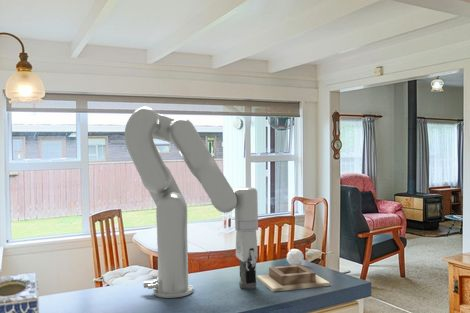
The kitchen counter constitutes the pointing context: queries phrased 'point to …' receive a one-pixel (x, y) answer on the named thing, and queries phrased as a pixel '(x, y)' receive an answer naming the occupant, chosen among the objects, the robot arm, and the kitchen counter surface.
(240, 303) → the kitchen counter surface
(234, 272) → the kitchen counter surface
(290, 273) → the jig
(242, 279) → the stone
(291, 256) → the ornament
